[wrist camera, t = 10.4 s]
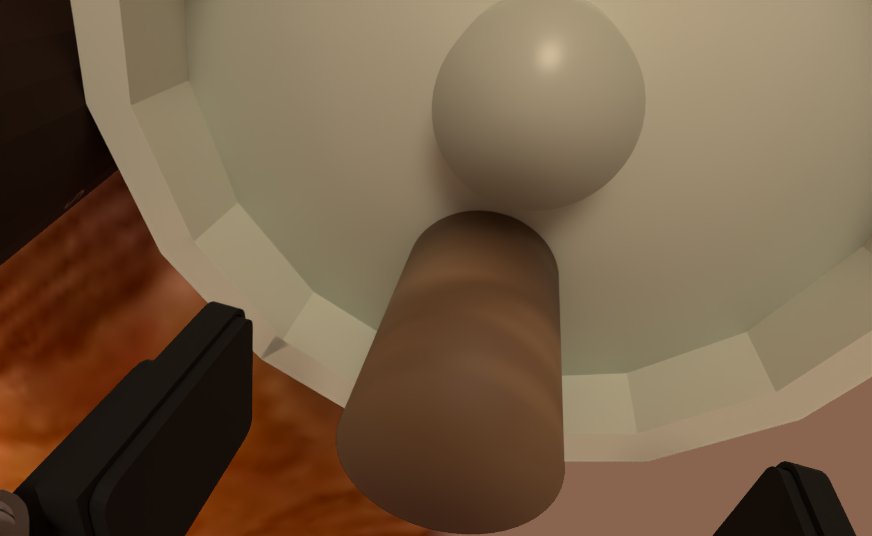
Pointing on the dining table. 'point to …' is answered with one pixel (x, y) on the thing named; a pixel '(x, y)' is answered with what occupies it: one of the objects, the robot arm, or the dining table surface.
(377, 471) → the cylinder
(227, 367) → the robot arm
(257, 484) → the dining table surface
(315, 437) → the dining table surface
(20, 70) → the coffee mug
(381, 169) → the tray
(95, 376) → the dining table surface
